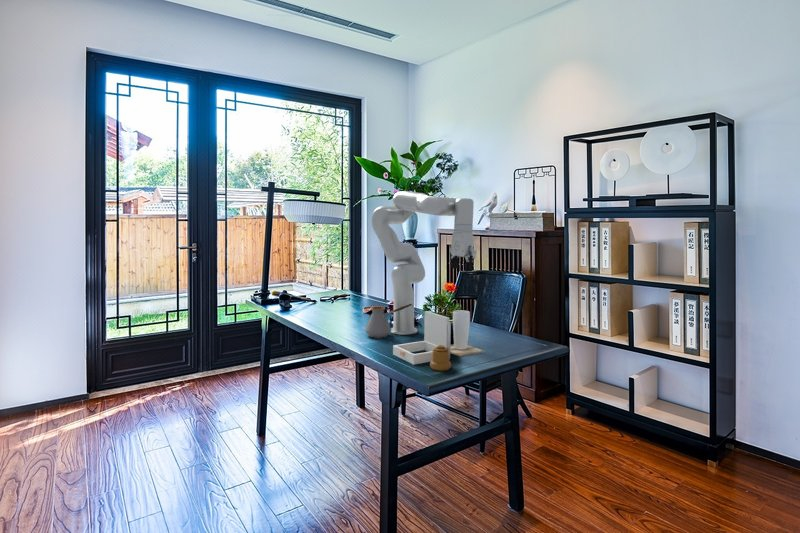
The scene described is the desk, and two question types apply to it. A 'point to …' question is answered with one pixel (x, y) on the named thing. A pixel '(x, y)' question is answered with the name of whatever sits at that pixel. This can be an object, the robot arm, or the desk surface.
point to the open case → (426, 340)
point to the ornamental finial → (440, 359)
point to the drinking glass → (461, 328)
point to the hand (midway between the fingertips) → (461, 269)
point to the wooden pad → (465, 351)
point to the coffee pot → (380, 322)
